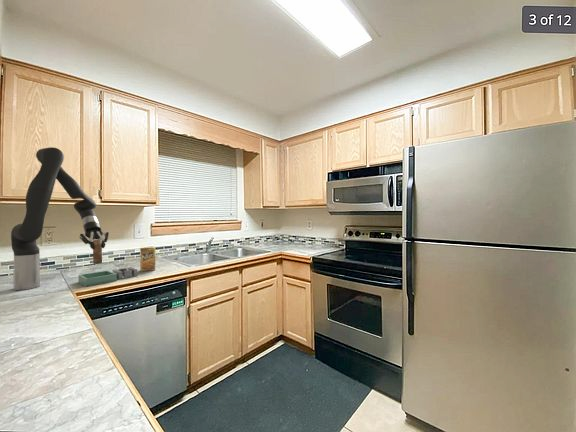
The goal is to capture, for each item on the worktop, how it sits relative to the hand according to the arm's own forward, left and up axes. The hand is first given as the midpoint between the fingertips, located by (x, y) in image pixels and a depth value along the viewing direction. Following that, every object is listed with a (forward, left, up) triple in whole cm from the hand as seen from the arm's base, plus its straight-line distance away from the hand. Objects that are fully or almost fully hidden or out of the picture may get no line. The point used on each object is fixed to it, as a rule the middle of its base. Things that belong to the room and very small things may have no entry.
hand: (98, 247), depth 140 cm
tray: (0, +2, -19) cm, 19 cm away
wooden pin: (0, +2, -9) cm, 9 cm away
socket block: (+14, +3, -19) cm, 24 cm away
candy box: (+30, +9, -20) cm, 37 cm away
